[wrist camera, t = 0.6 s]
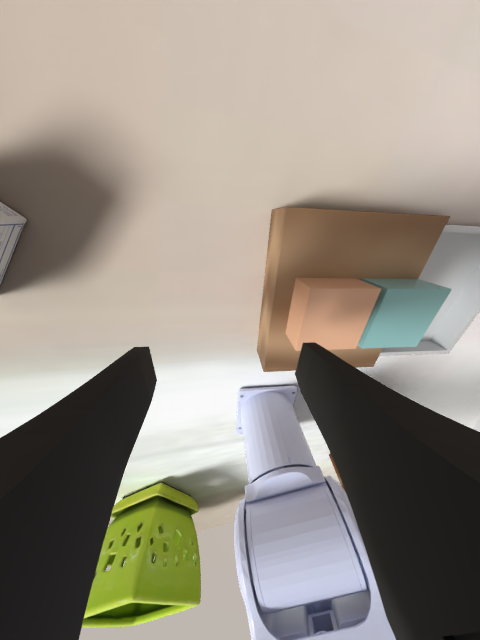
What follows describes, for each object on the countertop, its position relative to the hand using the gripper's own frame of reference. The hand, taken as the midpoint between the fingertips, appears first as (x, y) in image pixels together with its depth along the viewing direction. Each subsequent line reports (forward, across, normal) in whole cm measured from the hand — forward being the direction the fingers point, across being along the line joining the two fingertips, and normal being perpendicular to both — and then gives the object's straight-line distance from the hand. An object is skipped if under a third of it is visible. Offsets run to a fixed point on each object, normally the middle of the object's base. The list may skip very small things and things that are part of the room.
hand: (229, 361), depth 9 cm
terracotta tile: (+6, -8, 0) cm, 10 cm away
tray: (+10, -21, 0) cm, 23 cm away
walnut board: (+10, -10, 0) cm, 14 cm away
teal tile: (+6, -13, 0) cm, 15 cm away
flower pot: (+10, +13, +43) cm, 46 cm away
